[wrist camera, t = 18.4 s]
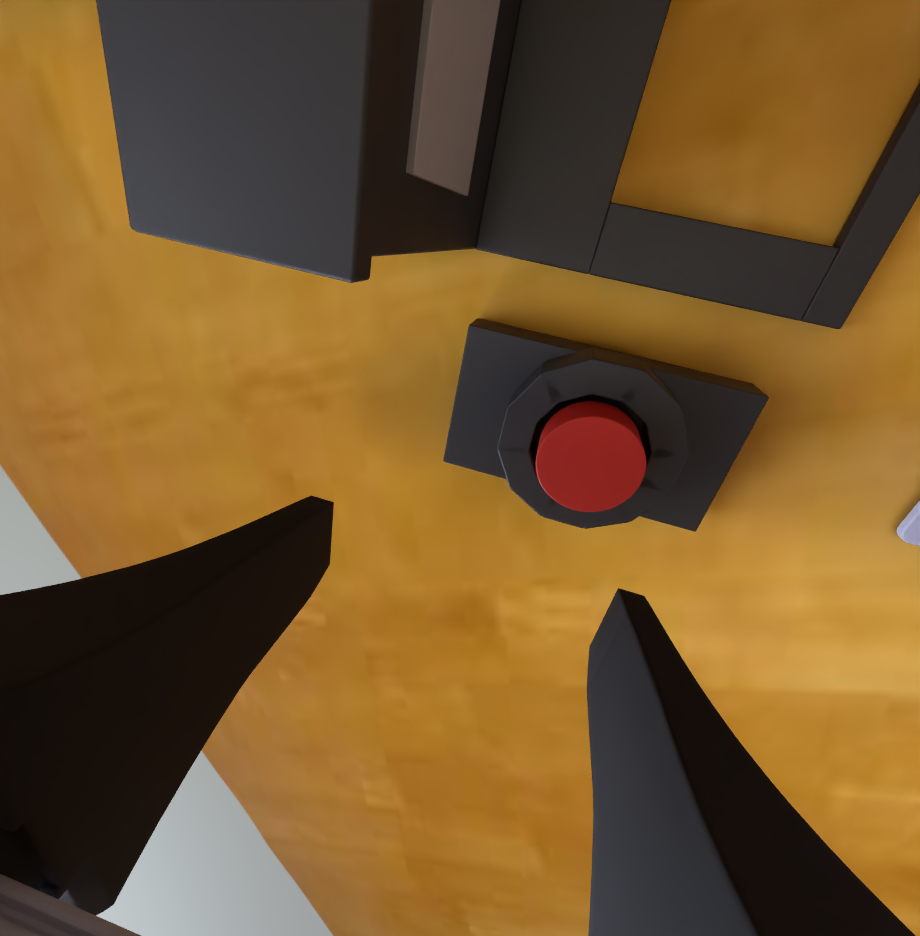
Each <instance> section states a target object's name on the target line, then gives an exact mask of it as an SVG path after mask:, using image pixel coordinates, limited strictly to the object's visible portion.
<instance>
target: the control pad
mask: <svg viewBox="0 0 920 936" xmlns="http://www.w3.org/2000/svg"><path fill="white" fill-rule="evenodd" d="M768 399H769V397H768V396H767V395H766V394H765V393H763V392H762V391H761V390H760V389H758V388H757V387H756V386H755V385H754V384H751V383H747V382H743V381H739V380H735V379H730V378H726V377H722V376H718V375H714V374H710V373H705V372H701V371H697V370H693V369H689V368H684V367H680V366H676V365H672V364H668V363H663V362H659V361H655V360H651V359H647V358H642V357H638V356H634V355H630V354H626V353H622V352H617V351H613V350H609V349H605V348H601V347H596V346H592V345H588V344H584V343H580V342H575V341H571V340H567V339H563V338H559V337H554V336H550V335H546V334H542V333H538V332H534V331H529V330H525V329H521V328H517V327H513V326H508V325H504V324H500V323H496V322H492V321H487V320H483V319H479V318H478V319H476V320H475V321H474V322H473V323H471V324H470V325H469V328H468V333H467V339H466V344H465V349H464V354H463V360H462V365H461V370H460V375H459V381H458V386H457V391H456V396H455V402H454V407H453V412H452V418H451V423H450V428H449V433H448V439H447V444H446V449H445V454H444V460H443V461H444V462H447V463H451V464H454V465H458V466H462V467H465V468H469V469H472V470H476V471H480V472H483V473H487V474H490V475H494V476H497V477H501V478H505V479H507V481H508V484H509V487H510V488H511V490H512V491H514V492H515V493H516V494H517V495H518V496H519V497H520V498H521V499H522V500H523V501H525V502H526V503H527V504H528V505H529V506H530V507H531V508H532V509H533V510H534V511H536V512H537V513H538V514H539V515H540V516H543V517H545V518H548V519H552V520H555V521H559V522H562V523H566V524H569V525H573V526H576V527H580V528H585V529H587V528H594V527H600V526H607V525H614V524H620V523H627V522H629V521H632V520H634V519H635V518H637V517H638V516H641V517H645V518H648V519H652V520H655V521H659V522H662V523H666V524H670V525H673V526H677V527H680V528H684V529H688V530H691V531H696V530H697V528H698V526H699V524H700V523H701V521H702V519H703V517H704V515H705V513H706V512H707V510H708V508H709V506H710V504H711V503H712V501H713V499H714V497H715V495H716V493H717V492H718V490H719V488H720V486H721V484H722V482H723V481H724V479H725V477H726V475H727V473H728V472H729V470H730V468H731V466H732V464H733V462H734V461H735V459H736V457H737V455H738V453H739V451H740V450H741V448H742V446H743V444H744V442H745V441H746V439H747V437H748V435H749V433H750V431H751V430H752V428H753V426H754V424H755V422H756V420H757V419H758V417H759V415H760V413H761V411H762V409H763V408H764V406H765V404H766V402H767V400H768ZM584 401H598V402H604V403H607V404H610V405H613V406H615V407H617V408H619V409H620V410H622V411H623V412H624V413H626V414H627V415H628V416H629V417H630V418H631V419H632V421H633V422H634V424H635V425H636V427H637V430H638V432H639V435H640V438H641V441H642V444H643V448H644V451H645V455H646V471H645V475H644V478H643V481H642V483H641V485H640V486H639V488H638V489H637V491H636V492H635V493H634V494H633V495H632V496H631V497H630V498H629V499H627V500H626V501H625V502H623V503H622V504H620V505H618V506H616V507H614V508H611V509H608V510H604V511H598V512H583V511H577V510H573V509H570V508H567V507H565V506H563V505H561V504H559V503H558V502H556V501H555V500H553V499H552V498H551V497H550V496H549V495H548V494H547V493H546V492H545V490H544V489H543V488H542V486H541V484H540V482H539V480H538V477H537V473H536V465H535V464H536V455H537V450H538V445H539V440H540V435H541V433H542V430H543V428H544V426H545V425H546V423H547V422H548V421H549V419H550V418H551V417H552V416H553V415H554V414H556V413H557V412H558V411H559V410H561V409H563V408H564V407H567V406H569V405H571V404H575V403H578V402H584Z"/></svg>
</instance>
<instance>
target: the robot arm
mask: <svg viewBox="0 0 920 936" xmlns="http://www.w3.org/2000/svg"><path fill="white" fill-rule="evenodd" d="M333 505H334V502H331V501H328V500H324V499H321V498H318V497H314V496H310V497H307V498H305V499H302V500H300V501H298V502H295V503H293V504H291V505H289V506H286V507H284V508H282V509H280V510H278V511H275V512H273V513H271V514H269V515H267V516H264V517H262V518H260V519H258V520H255V521H253V522H251V523H249V524H246V525H244V526H242V527H239V528H237V529H235V530H232V531H230V532H227V533H225V534H222V535H220V536H217V537H215V538H212V539H209V540H207V541H204V542H202V543H199V544H197V545H194V546H192V547H189V548H186V549H183V550H180V551H178V552H175V553H172V554H169V555H166V556H162V557H159V558H156V559H153V560H150V561H146V562H143V563H140V564H137V565H133V566H130V567H126V568H122V569H118V570H114V571H110V572H106V573H102V574H98V575H94V576H90V577H86V578H82V579H79V580H75V581H70V582H66V583H61V584H57V585H51V586H46V587H42V588H37V589H31V590H26V591H21V592H15V593H10V594H4V595H0V936H141V935H138V934H136V933H134V932H131V931H129V930H127V929H124V928H122V927H120V926H118V925H115V924H113V923H111V922H108V921H106V920H104V919H102V918H99V917H97V916H96V915H98V914H99V913H101V912H103V911H105V910H106V909H108V908H109V907H110V906H112V905H113V904H114V903H115V901H116V899H117V896H118V895H119V893H120V891H121V889H122V887H123V886H124V884H125V882H126V880H127V878H128V877H129V875H130V873H131V871H132V869H133V867H134V866H135V864H136V862H137V860H138V858H139V857H140V855H141V853H142V851H143V849H144V847H145V846H146V844H147V842H148V840H149V838H150V837H151V835H152V833H153V831H154V830H155V827H156V826H157V824H158V822H159V820H160V819H161V817H162V815H163V814H164V812H165V810H166V809H167V807H168V805H169V803H170V802H171V800H172V798H173V797H174V795H175V793H176V791H177V790H178V788H179V786H180V784H181V783H182V781H183V779H184V778H185V776H186V774H187V773H188V771H189V769H190V768H191V766H192V764H193V763H194V761H195V759H196V758H197V756H198V755H199V753H200V751H201V750H202V748H203V746H204V745H205V743H206V742H207V740H208V738H209V737H210V735H211V733H212V732H213V730H214V728H215V727H216V725H217V724H218V722H219V721H220V719H221V718H222V716H223V714H224V713H225V711H226V710H227V708H228V707H229V705H230V703H231V702H232V700H233V699H234V697H235V696H236V694H237V693H238V691H239V689H240V688H241V687H242V685H243V684H244V682H245V681H246V680H247V678H248V677H249V675H250V674H251V673H252V671H253V670H254V669H255V667H256V666H257V665H258V664H259V662H260V661H261V660H262V658H263V657H264V656H265V655H266V653H267V652H268V651H269V650H270V648H271V647H272V646H273V644H274V643H275V642H276V641H277V639H278V638H279V637H280V636H281V634H282V633H283V632H284V630H285V629H286V628H287V627H288V625H289V624H290V623H291V622H292V620H293V619H294V618H295V616H296V615H297V614H298V612H299V611H300V610H301V609H302V607H303V606H304V605H305V603H306V602H307V601H308V599H309V598H310V597H311V595H312V593H313V592H314V590H315V588H316V587H317V585H318V583H319V582H320V580H321V578H322V577H323V575H324V573H325V571H326V570H327V568H328V566H329V564H330V552H331V536H332V521H333ZM897 534H898V536H899V537H900V538H901V539H902V540H904V541H905V542H907V543H910V544H913V545H917V546H920V500H919V502H918V503H917V504H916V505H915V506H914V508H913V509H912V510H911V511H910V513H909V514H908V515H907V516H906V518H905V519H904V520H903V521H902V522H901V524H900V525H899V526H898V528H897ZM587 701H588V718H589V735H590V751H591V767H592V783H593V813H594V816H593V849H592V877H591V898H590V920H589V936H915V935H914V934H913V933H912V932H911V931H910V930H909V929H908V928H907V927H906V926H905V925H904V924H903V923H902V922H901V921H900V920H899V919H898V918H897V917H896V916H895V915H894V914H893V913H892V912H891V911H890V910H889V909H888V908H887V907H886V906H885V905H884V904H883V903H882V902H881V901H880V900H879V899H878V898H877V897H876V896H875V895H874V894H873V893H872V892H871V891H870V890H869V889H868V888H867V887H866V886H865V885H864V884H863V883H862V882H861V880H860V879H859V878H858V877H857V876H856V875H855V874H854V873H853V872H852V871H851V870H850V869H849V868H848V867H847V866H846V865H845V864H844V863H843V862H842V861H841V860H840V858H839V857H838V856H837V855H836V854H835V853H834V852H833V851H832V850H831V849H830V848H829V847H828V846H827V845H826V844H825V842H824V841H823V840H822V839H821V838H820V837H819V836H818V835H817V833H816V832H815V831H814V830H813V829H812V828H811V827H810V826H809V825H808V823H807V822H806V821H805V820H804V819H803V818H802V817H801V816H800V814H799V813H798V812H797V811H796V810H795V809H794V808H793V807H792V806H791V804H790V803H789V802H788V801H787V800H786V799H785V797H784V796H783V795H782V794H781V793H780V791H779V790H778V789H777V788H776V787H775V786H774V784H773V783H772V782H771V781H770V780H769V778H768V777H767V776H766V775H765V773H764V772H763V771H762V770H761V768H760V767H759V766H758V765H757V763H756V762H755V761H754V760H753V758H752V757H751V756H750V755H749V753H748V752H747V751H746V750H745V748H744V747H743V746H742V744H741V743H740V742H739V740H738V739H737V738H736V737H735V735H734V734H733V733H732V731H731V730H730V728H729V727H728V726H727V724H726V723H725V722H724V720H723V719H722V717H721V716H720V714H719V713H718V712H717V710H716V709H715V707H714V706H713V705H712V703H711V702H710V700H709V699H708V697H707V696H706V694H705V693H704V691H703V690H702V689H701V687H700V686H699V684H698V683H697V681H696V679H695V678H694V676H693V675H692V673H691V672H690V670H689V669H688V667H687V665H686V664H685V662H684V661H683V659H682V658H681V656H680V654H679V653H678V651H677V649H676V648H675V646H674V645H673V643H672V641H671V640H670V638H669V636H668V635H667V633H666V631H665V630H664V628H663V626H662V625H661V623H660V621H659V619H658V618H657V616H656V614H655V613H654V611H653V609H652V608H651V606H650V604H649V603H648V601H647V600H646V598H645V596H642V595H639V594H636V593H632V592H629V591H626V590H622V589H619V588H618V590H617V592H616V594H615V596H614V598H613V600H612V602H611V604H610V606H609V608H608V610H607V612H606V614H605V616H604V618H603V620H602V622H601V624H600V627H599V629H598V631H597V633H596V635H595V637H594V639H593V641H592V643H591V645H590V648H589V662H588V677H587Z"/></svg>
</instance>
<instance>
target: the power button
mask: <svg viewBox="0 0 920 936" xmlns="http://www.w3.org/2000/svg"><path fill="white" fill-rule="evenodd" d="M535 465H536V473H537V477H538V480H539V482H540V484H541V486H542V488H543V489H544V490H545V492H546V493H547V494H548V495H549V496H550V497H551V498H552V499H553V500H555V501H556V502H558V503H559V504H561V505H563V506H565V507H567V508H570V509H573V510H577V511H583V512H598V511H604V510H608V509H611V508H614V507H616V506H618V505H620V504H622V503H623V502H625V501H626V500H627V499H629V498H630V497H631V496H632V495H633V494H634V493H635V492H636V491H637V489H638V488H639V486H640V485H641V483H642V481H643V478H644V475H645V471H646V455H645V451H644V448H643V444H642V441H641V438H640V435H639V432H638V430H637V427H636V425H635V424H634V422H633V421H632V419H631V418H630V417H629V416H628V415H627V414H626V413H624V412H623V411H622V410H620V409H619V408H617V407H615V406H613V405H610V404H607V403H604V402H598V401H584V402H578V403H575V404H571V405H569V406H567V407H564V408H563V409H561V410H559V411H558V412H557V413H556V414H554V415H553V416H552V417H551V418H550V419H549V421H548V422H547V423H546V425H545V426H544V428H543V430H542V433H541V435H540V440H539V445H538V450H537V455H536V464H535Z"/></svg>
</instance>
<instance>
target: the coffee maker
mask: <svg viewBox="0 0 920 936" xmlns="http://www.w3.org/2000/svg"><path fill="white" fill-rule="evenodd" d="M96 2H97V9H98V15H99V22H100V28H101V35H102V42H103V48H104V55H105V62H106V68H107V75H108V81H109V88H110V95H111V101H112V108H113V115H114V121H115V128H116V134H117V141H118V148H119V154H120V161H121V167H122V174H123V181H124V187H125V194H126V201H127V207H128V214H129V220H130V226H131V228H132V229H133V230H135V231H136V232H140V233H144V234H148V235H152V236H157V237H161V238H165V239H169V240H173V241H178V242H182V243H186V244H190V245H195V246H199V247H203V248H207V249H211V250H216V251H220V252H224V253H228V254H232V255H237V256H241V257H245V258H249V259H254V260H258V261H262V262H266V263H270V264H275V265H279V266H283V267H287V268H291V269H296V270H300V271H304V272H308V273H313V274H317V275H321V276H325V277H329V278H334V279H338V280H342V281H346V282H351V283H353V282H358V281H364V280H368V279H369V277H370V269H371V256H384V255H397V254H410V253H423V252H437V251H450V250H463V249H477V250H481V251H486V252H490V253H495V254H500V255H504V256H509V257H513V258H518V259H522V260H527V261H531V262H536V263H540V264H545V265H549V266H554V267H558V268H563V269H568V270H572V271H577V272H581V273H586V274H590V275H595V276H599V277H604V278H608V279H613V280H617V281H622V282H627V283H631V284H636V285H640V286H645V287H649V288H654V289H658V290H663V291H667V292H672V293H676V294H681V295H686V296H690V297H695V298H699V299H704V300H708V301H713V302H717V303H722V304H726V305H731V306H735V307H740V308H744V309H749V310H754V311H758V312H763V313H767V314H772V315H776V316H781V317H785V318H790V319H794V320H800V321H803V322H808V323H813V324H817V325H822V326H826V327H831V328H835V329H840V328H841V327H842V326H843V324H844V322H845V320H846V319H847V317H848V315H849V314H850V312H851V310H852V309H853V307H854V305H855V303H856V302H857V300H858V298H859V297H860V295H861V293H862V291H863V290H864V288H865V286H866V285H867V283H868V281H869V279H870V278H871V276H872V274H873V273H874V271H875V269H876V267H877V266H878V264H879V262H880V261H881V259H882V257H883V255H884V254H885V252H886V250H887V249H888V247H889V245H890V243H891V242H892V240H893V238H894V237H895V235H896V233H897V231H898V230H899V228H900V226H901V225H902V223H903V221H904V219H905V218H906V216H907V214H908V213H909V211H910V209H911V207H912V206H913V204H914V202H915V201H916V199H917V197H918V195H919V194H920V84H919V86H918V88H917V90H916V91H915V93H914V95H913V97H912V99H911V101H910V103H909V105H908V107H907V108H906V110H905V112H904V114H903V116H902V118H901V120H900V122H899V124H898V125H897V127H896V129H895V131H894V133H893V135H892V137H891V139H890V141H889V142H888V144H887V146H886V148H885V150H884V152H883V154H882V156H881V157H880V159H879V161H878V163H877V165H876V167H875V169H874V171H873V173H872V174H871V176H870V178H869V180H868V182H867V184H866V186H865V188H864V190H863V191H862V193H861V195H860V197H859V199H858V201H857V203H856V205H855V207H854V208H853V210H852V212H851V214H850V216H849V218H848V220H847V222H846V224H845V225H844V227H843V229H842V231H841V233H840V235H839V237H838V239H837V241H836V242H835V244H834V246H833V247H831V246H826V245H821V244H816V243H811V242H806V241H801V240H796V239H791V238H786V237H781V236H776V235H771V234H766V233H761V232H756V231H751V230H746V229H742V228H737V227H732V226H727V225H722V224H717V223H712V222H707V221H702V220H697V219H692V218H687V217H682V216H677V215H672V214H667V213H662V212H657V211H652V210H647V209H642V208H637V207H632V206H627V205H622V204H617V203H610V202H611V198H612V195H613V192H614V188H615V185H616V182H617V178H618V175H619V172H620V169H621V165H622V162H623V159H624V155H625V152H626V149H627V145H628V142H629V139H630V135H631V132H632V129H633V125H634V122H635V119H636V115H637V112H638V109H639V105H640V102H641V99H642V95H643V92H644V89H645V85H646V82H647V79H648V75H649V72H650V69H651V65H652V62H653V59H654V55H655V52H656V49H657V45H658V42H659V39H660V35H661V32H662V29H663V25H664V22H665V19H666V15H667V12H668V9H669V5H670V2H671V0H96Z"/></svg>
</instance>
